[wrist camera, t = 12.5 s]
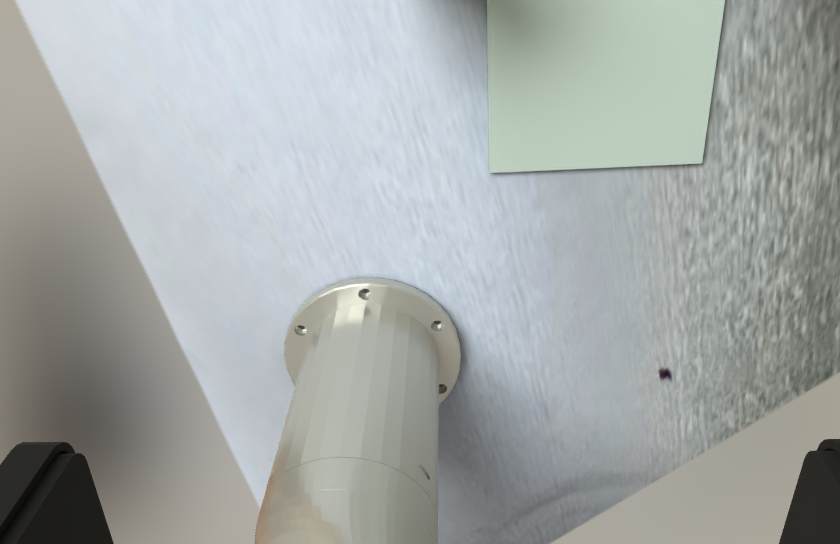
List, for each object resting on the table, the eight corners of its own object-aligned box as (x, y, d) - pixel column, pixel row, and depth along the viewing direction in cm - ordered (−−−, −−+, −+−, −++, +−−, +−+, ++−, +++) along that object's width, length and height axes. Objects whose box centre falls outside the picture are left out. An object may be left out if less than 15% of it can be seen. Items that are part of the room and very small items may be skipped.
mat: (699, 160, 44) (702, 163, 44) (489, 170, 45) (489, 172, 45) (732, -72, 38) (735, -71, 38) (485, -56, 39) (486, -56, 38)
